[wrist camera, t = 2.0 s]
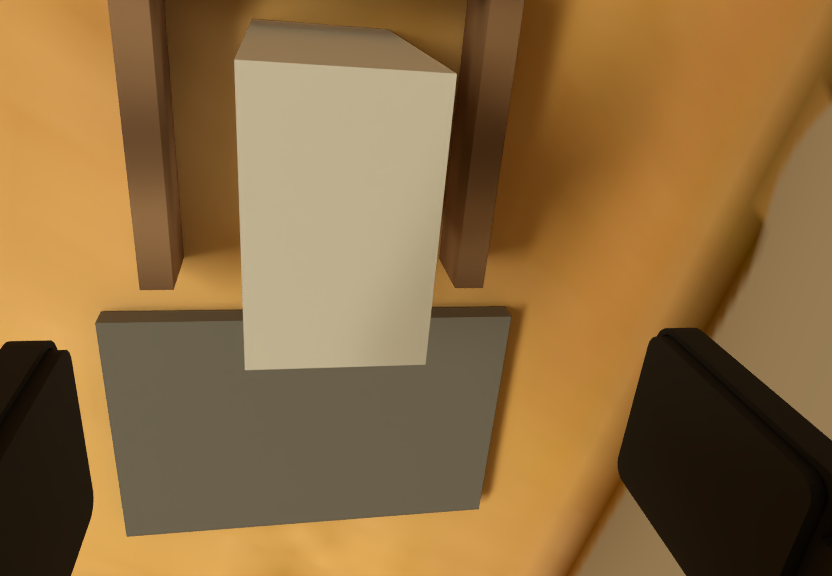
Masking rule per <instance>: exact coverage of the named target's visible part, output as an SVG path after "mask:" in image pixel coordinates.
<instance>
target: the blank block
mask: <svg viewBox="0 0 832 576" xmlns="http://www.w3.org/2000/svg"><path fill="white" fill-rule="evenodd" d="M234 71H235V100H236V129H237V158H238V186H239V215H240V244H241V273H242V302H243V331H244V359H245V370H269V369H301V368H334V367H367V366H399V365H426V355H427V346H428V337H429V328H430V319H431V309H432V300H433V291H434V282H435V272H436V263H437V254H438V245H439V235H440V226H441V217H442V208H443V198H444V189H445V180H446V171H447V162H448V152H449V143H450V134H451V125H452V115H453V106H454V97H455V88H456V78H457V73H455V72H454V71H452V70H450V69H449V68H447V67H446V66H444V65H443V64H441V63H440V62H438V61H436V60H435V59H433V58H432V57H430V56H429V55H427V54H425V53H424V52H422V51H421V50H419V49H418V48H416V47H415V46H413V45H411V44H410V43H408V42H407V41H405V40H404V39H402V38H401V37H399V36H397V35H396V34H394V33H393V32H391V31H390V30H388V29H379V28H366V27H353V26H339V25H326V24H313V23H300V22H287V21H274V20H261V19H252V20H251V23H250V25H249V27H248V29H247V32H246V34H245V36H244V38H243V41H242V43H241V45H240V47H239V50H238V52H237V54H236V56H235V59H234Z"/></svg>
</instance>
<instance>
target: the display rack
mask: <svg viewBox="0 0 832 576" xmlns="http://www.w3.org/2000/svg"><path fill="white" fill-rule="evenodd" d="M524 1H525V0H468V2H467V11H466V20H465V29H464V38H463V47H462V56H461V66H460V75H459V84H458V93H457V102H456V111H455V120H454V129H453V138H452V147H451V157H450V166H449V175H448V184H447V193H446V202H445V211H444V220H443V229H442V238H441V248H440V257H439V259H440V261H441V263H442V265H443V266H444V268H445V270H446V272H447V274H448V276H449V278H450V280H451V281H452V283H453V285H454V287H455V288H483V284H484V277H485V270H486V263H487V256H488V249H489V243H490V236H491V229H492V222H493V215H494V208H495V201H496V194H497V187H498V180H499V173H500V167H501V160H502V153H503V146H504V139H505V132H506V125H507V118H508V111H509V104H510V98H511V91H512V84H513V77H514V70H515V63H516V56H517V49H518V42H519V35H520V28H521V22H522V15H523V8H524ZM108 8H109V17H110V26H111V35H112V44H113V53H114V62H115V71H116V80H117V89H118V98H119V107H120V116H121V125H122V134H123V143H124V152H125V161H126V170H127V179H128V188H129V197H130V206H131V215H132V224H133V233H134V242H135V251H136V260H137V269H138V278H139V287H140V290H174V287H175V284H176V281H177V277H178V274H179V271H180V268H181V265H182V262H183V259H184V255H183V241H182V228H181V215H180V202H179V189H178V176H177V163H176V150H175V137H174V124H173V110H172V97H171V84H170V71H169V58H168V45H167V32H166V19H165V6H164V0H108Z"/></svg>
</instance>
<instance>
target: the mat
mask: <svg viewBox="0 0 832 576" xmlns="http://www.w3.org/2000/svg"><path fill="white" fill-rule="evenodd" d="M510 322H511V315H510V314H509V312H508V311H507V309H506V308H505V307H432V309H431V319H430V328H429V337H428V346H427V355H426V365H399V366H367V367H334V368H301V369H269V370H245V359H244V331H243V310H187V311H106V312H101V313H100V315H99V317H98V319H97V321H96V323H95V325H96V332H97V338H98V345H99V352H100V359H101V365H102V372H103V379H104V386H105V393H106V399H107V406H108V413H109V420H110V426H111V433H112V440H113V447H114V453H115V460H116V467H117V474H118V480H119V487H120V494H121V501H122V508H123V514H124V521H125V528H126V535H127V537H129V536H142V535H154V534H167V533H180V532H193V531H205V530H218V529H231V528H244V527H256V526H269V525H282V524H295V523H307V522H320V521H333V520H346V519H358V518H371V517H384V516H397V515H409V514H422V513H435V512H448V511H460V510H473V509H479V504H480V499H481V493H482V487H483V481H484V475H485V469H486V463H487V457H488V451H489V446H490V440H491V434H492V428H493V422H494V416H495V410H496V404H497V398H498V392H499V387H500V381H501V375H502V369H503V363H504V357H505V351H506V345H507V339H508V334H509V328H510Z"/></svg>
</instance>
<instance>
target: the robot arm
mask: <svg viewBox="0 0 832 576" xmlns="http://www.w3.org/2000/svg"><path fill="white" fill-rule="evenodd" d="M618 471H619V475H620V478H621V479H622V481H623V483H624V484H625V486H626V487H627V489H628V490H629V492H630V493H631V495H632V496H633V497H634V499H635V500H636V502H637V503H638V505H639V506H640V508H641V509H642V511H643V512H644V514H645V515H646V517H647V518H648V520H649V521H650V523H651V524H652V526H653V527H654V529H655V530H656V532H657V533H658V535H659V536H660V537H661V539H662V540H663V542H664V543H665V545H666V546H667V548H668V549H669V551H670V552H671V553H672V555H673V557H674V558H675V560H676V561H677V563H678V564H679V566H680V567H681V568H682V570H683V572H684V573H685V574H686V576H832V441H831V440H830V439H829V438H828V437H827V436H826V435H824V434H823V433H822V432H820V431H819V430H818V429H817V428H816V427H815V426H814V425H812V424H811V423H810V422H809V421H808V420H807V419H805V418H804V417H803V416H802V415H801V414H800V413H798V412H797V411H796V410H795V409H794V408H792V407H791V406H790V405H789V404H788V403H786V402H785V401H784V400H783V399H782V398H781V397H779V396H778V395H777V394H776V393H775V392H774V391H772V390H771V389H770V388H769V387H768V386H766V385H765V384H764V383H763V382H761V381H760V380H759V379H758V378H757V377H756V376H754V375H753V374H752V373H751V372H750V371H748V370H747V369H746V368H745V367H744V366H743V365H741V364H740V363H739V362H738V361H737V360H736V359H734V358H733V357H732V356H731V355H730V354H728V353H727V352H726V351H725V350H724V349H723V348H721V347H720V346H719V345H718V344H717V343H716V342H714V341H713V340H712V339H711V338H710V337H708V336H707V335H706V334H705V333H704V332H702V331H701V330H699V329H698V328H665V329H663V330H661V331H660V332H659V334H658V335H657V337H654V338H652V339H651V340H650V342H649V345H648V348H647V352H646V355H645V359H644V363H643V367H642V370H641V374H640V378H639V382H638V385H637V389H636V393H635V397H634V400H633V404H632V408H631V412H630V415H629V419H628V423H627V427H626V430H625V434H624V438H623V442H622V445H621V449H620V453H619V457H618ZM92 510H93V488H92V482H91V476H90V470H89V464H88V458H87V452H86V445H85V439H84V433H83V427H82V421H81V415H80V409H79V402H78V396H77V390H76V384H75V378H74V372H73V366H72V360H71V356H70V353H69V352H68V351H67V350H57V347H56V345H55V343H54V342H53V341H9V342H6V343H5V344H4V345H3V346H2V348H1V349H0V576H71V574H72V571H73V568H74V565H75V562H76V559H77V557H78V554H79V551H80V548H81V545H82V542H83V539H84V536H85V533H86V531H87V528H88V525H89V522H90V519H91V515H92Z"/></svg>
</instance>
